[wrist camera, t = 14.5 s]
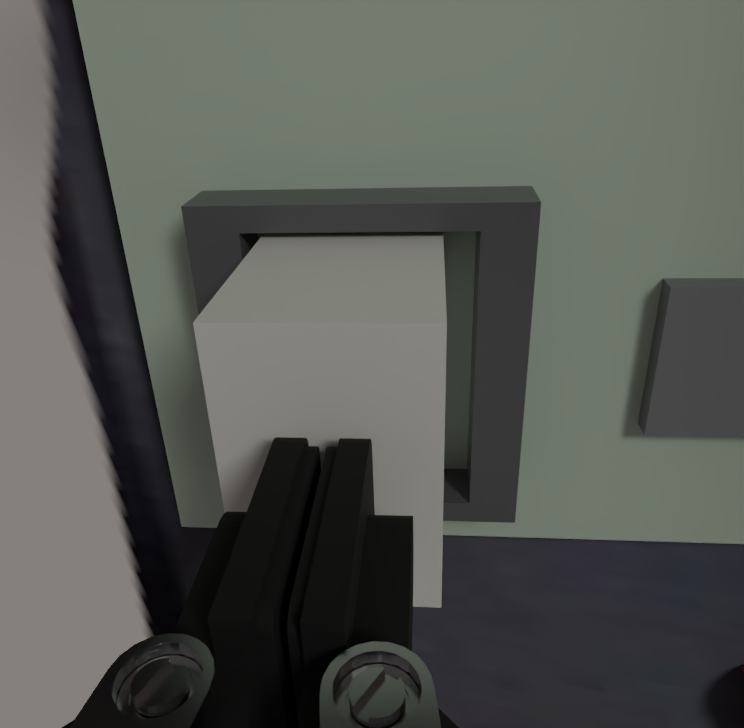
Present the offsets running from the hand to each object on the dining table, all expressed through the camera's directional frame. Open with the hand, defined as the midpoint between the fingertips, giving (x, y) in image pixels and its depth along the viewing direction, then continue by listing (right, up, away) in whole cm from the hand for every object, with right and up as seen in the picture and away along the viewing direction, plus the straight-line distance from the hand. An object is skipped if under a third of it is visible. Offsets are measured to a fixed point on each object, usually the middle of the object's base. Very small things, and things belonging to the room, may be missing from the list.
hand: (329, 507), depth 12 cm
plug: (0, +3, +5) cm, 6 cm away
